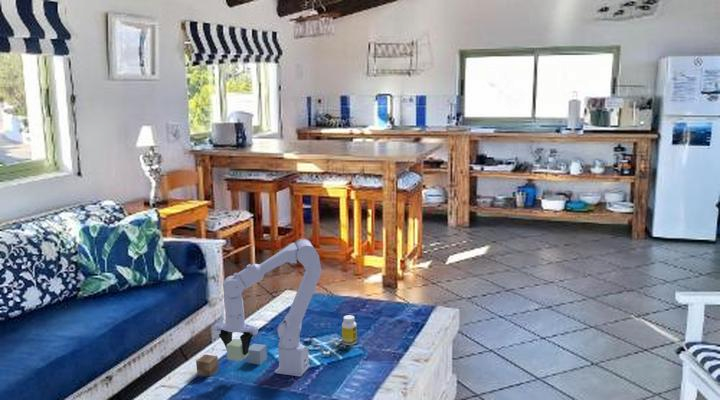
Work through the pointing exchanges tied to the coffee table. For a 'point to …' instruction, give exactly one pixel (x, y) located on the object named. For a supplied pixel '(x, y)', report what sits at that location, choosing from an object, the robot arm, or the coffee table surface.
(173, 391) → the coffee table surface
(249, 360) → the slate block
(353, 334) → the supplement bottle
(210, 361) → the walnut block
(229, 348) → the sage block
